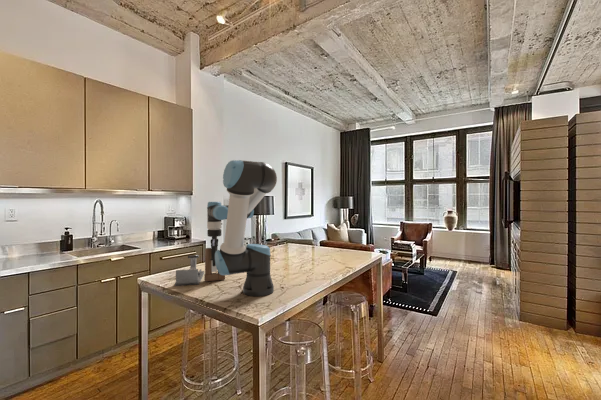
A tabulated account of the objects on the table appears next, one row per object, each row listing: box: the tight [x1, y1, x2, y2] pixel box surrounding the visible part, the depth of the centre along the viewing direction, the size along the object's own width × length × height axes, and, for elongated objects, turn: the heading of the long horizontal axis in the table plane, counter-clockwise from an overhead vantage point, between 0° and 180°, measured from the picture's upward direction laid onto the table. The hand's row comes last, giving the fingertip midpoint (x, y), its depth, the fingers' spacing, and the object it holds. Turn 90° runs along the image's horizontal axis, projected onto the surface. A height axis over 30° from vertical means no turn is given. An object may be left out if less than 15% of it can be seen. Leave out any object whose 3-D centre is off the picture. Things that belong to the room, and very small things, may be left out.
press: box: [174, 268, 205, 287], centre depth 160 cm, size 24×12×8 cm, turn 12°
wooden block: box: [203, 247, 226, 282], centre depth 158 cm, size 4×11×18 cm, turn 116°
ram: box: [187, 254, 200, 269], centre depth 168 cm, size 5×6×10 cm
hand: (214, 270), depth 158 cm, fingers closed on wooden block, 4 cm apart
